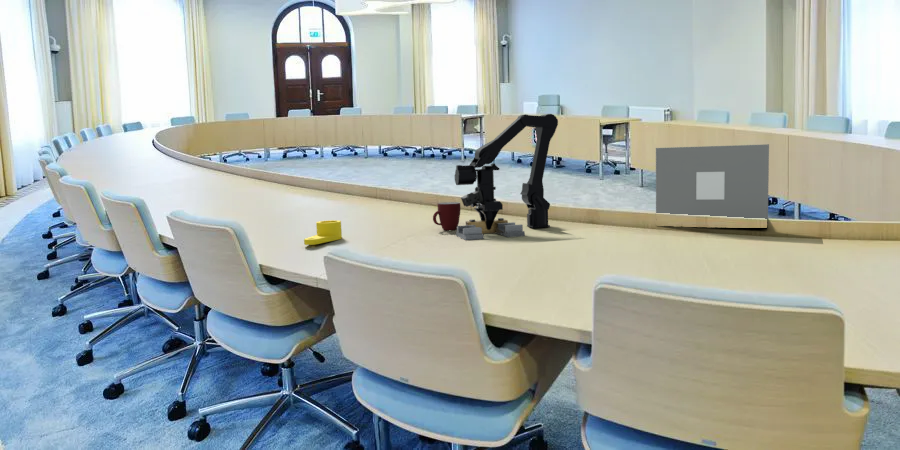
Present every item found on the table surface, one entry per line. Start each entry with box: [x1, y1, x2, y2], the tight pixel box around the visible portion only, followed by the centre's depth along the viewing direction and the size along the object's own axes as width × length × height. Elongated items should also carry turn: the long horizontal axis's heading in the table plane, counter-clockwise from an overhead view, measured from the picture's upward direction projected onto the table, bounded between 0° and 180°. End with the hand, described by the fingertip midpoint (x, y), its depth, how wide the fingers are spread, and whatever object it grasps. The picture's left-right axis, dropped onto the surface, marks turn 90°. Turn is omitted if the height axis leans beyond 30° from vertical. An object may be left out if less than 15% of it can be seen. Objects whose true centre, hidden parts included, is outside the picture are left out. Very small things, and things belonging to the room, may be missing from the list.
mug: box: [432, 201, 461, 231], centre depth 244 cm, size 11×8×10 cm
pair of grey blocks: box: [455, 221, 526, 241], centre depth 229 cm, size 20×12×4 cm, turn 104°
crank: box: [303, 219, 343, 246], centre depth 233 cm, size 18×8×6 cm, turn 159°
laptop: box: [655, 144, 770, 220], centre depth 240 cm, size 35×26×27 cm
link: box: [465, 217, 509, 234], centre depth 239 cm, size 14×4×5 cm, turn 98°
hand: (486, 229), depth 239 cm, fingers closed on link, 4 cm apart
